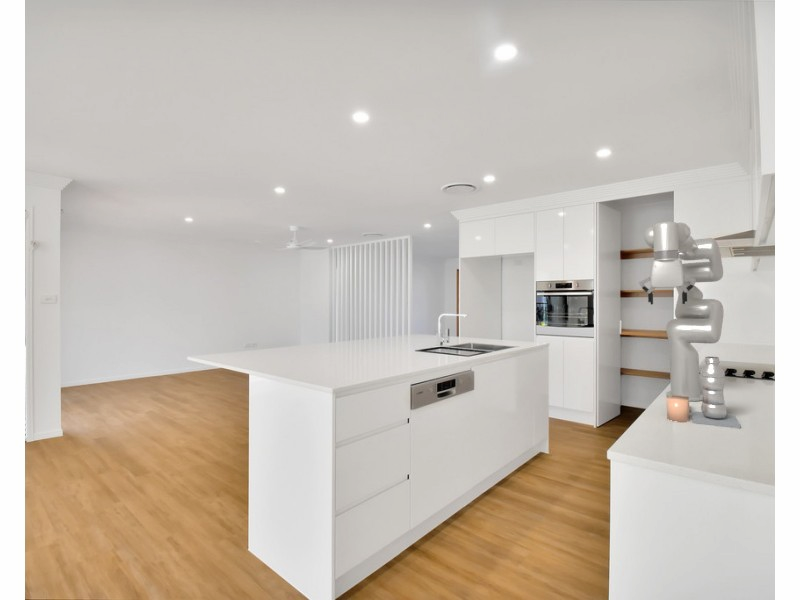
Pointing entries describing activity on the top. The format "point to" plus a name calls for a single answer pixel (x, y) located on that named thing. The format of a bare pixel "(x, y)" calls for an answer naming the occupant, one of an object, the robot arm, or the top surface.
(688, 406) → the copper block
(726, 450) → the top surface
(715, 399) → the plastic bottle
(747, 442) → the top surface
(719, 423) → the slate mat
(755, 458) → the top surface
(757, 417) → the top surface
